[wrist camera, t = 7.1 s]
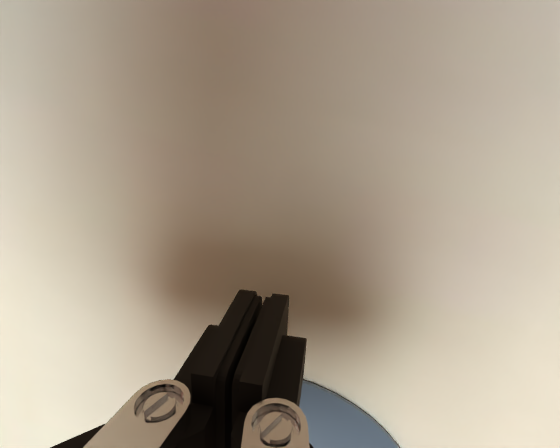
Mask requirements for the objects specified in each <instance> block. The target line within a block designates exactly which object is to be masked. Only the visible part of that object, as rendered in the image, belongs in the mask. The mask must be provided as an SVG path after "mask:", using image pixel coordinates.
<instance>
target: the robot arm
mask: <svg viewBox="0 0 560 448" xmlns="http://www.w3.org/2000/svg"><path fill="white" fill-rule="evenodd" d="M288 307H289V296H288V295H280V294H272V296H271V298H269V297H266V298H265V300H264V303H263V305H262V297H261V296H257V292H256V291H248V290H239V292H238V293H237V295H236V297H235V299H234V300H233V302H232V304H231V305H230V307H229V309H228V310H227V312H226V314H225V316H224V317H223V319H222V321H221V322H220V324H219V326H216V325H209V326H208V327H207V328H206V330H205V331H204V333H203V335H202V336H201V338H200V339H199V341H198V342H197V344H196V346H195V347H194V349H193V350H192V352H191V353H190V355H189V357H188V358H187V360H186V361H185V363H184V364H183V366H182V367H181V369H180V371H179V372H178V374H177V375H176V377H175V378H174V380H171V379H167V380H158V381H155V382H152V383H149V384H148V385H146V386H144V387H142V388H141V389H140V390H138V391H137V392H136V393H135V394H134V395H133V396H132V397H131V398H130V399H129V400H128V401H127V402H126V403H125V404H124V405H123V406H122V407H121V408H120V409H119V410H118V412H117V413H116V414H115V415H114V416H113V417H112V418H111V419H110V420H109V421H108V422H107V423H106V424H103V425H101V426H99V427H97V428H94V429H92V430H90V431H87V432H85V433H83V434H81V435H78V436H76V437H74V438H71V439H69V440H67V441H64V442H62V443H60V444H58V445H55V446H53V447H51V448H314V447H313V446H312V445H311V444H310V443H309V433H308V424H307V419H306V416H305V415H304V413H303V411H302V410H301V409H300V408H299V405H300V397H301V390H302V382H303V373H304V364H305V352H306V338H300V337H293V336H287V324H288Z"/></svg>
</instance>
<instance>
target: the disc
mask: <svg viewBox="0 0 560 448" xmlns="http://www.w3.org/2000/svg"><path fill="white" fill-rule="evenodd" d="M299 408H300V409H301V410H302V411H303V413H304V415H305V416H306V419H307V424H308V433H309V443H310V444H311V445H312V446H313V447H314V448H400V447H399V446H398V444H397V443H396V442H395V441H394V440H393V438H392V437H391V436H390V435H389V434H388V432H387V431H386V430H385V429H384V428H382V427H381V426H380V425H379V424H378V423H377V422H376V421H375V420H374V419H373V418H372V417H371V416H369V415H368V414H367V413H365V412H364V411H362V410H361V409H360V408H358V407H357V406H356V405H354V404H353V403H351V402H349V401H348V400H346V399H344V398H343V397H341V396H339V395H337V394H336V393H334V392H332V391H329V390H327V389H325V388H323V387H320V386H318V385H316V384H314V383H311V382H308V381H305V380H303V382H302V390H301V397H300V405H299Z"/></svg>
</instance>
